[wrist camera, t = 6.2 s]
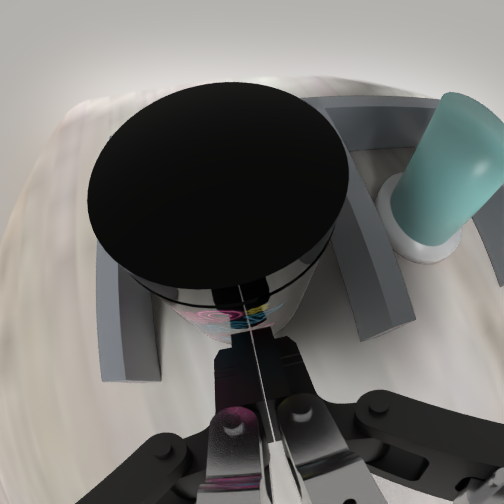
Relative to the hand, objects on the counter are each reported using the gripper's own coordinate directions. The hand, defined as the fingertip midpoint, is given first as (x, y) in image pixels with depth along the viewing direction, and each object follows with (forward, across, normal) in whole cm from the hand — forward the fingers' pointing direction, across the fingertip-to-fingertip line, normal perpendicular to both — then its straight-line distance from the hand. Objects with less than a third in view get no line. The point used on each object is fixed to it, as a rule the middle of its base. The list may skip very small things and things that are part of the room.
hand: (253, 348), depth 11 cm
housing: (+8, -6, -2) cm, 10 cm away
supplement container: (+6, 0, 0) cm, 6 cm away
